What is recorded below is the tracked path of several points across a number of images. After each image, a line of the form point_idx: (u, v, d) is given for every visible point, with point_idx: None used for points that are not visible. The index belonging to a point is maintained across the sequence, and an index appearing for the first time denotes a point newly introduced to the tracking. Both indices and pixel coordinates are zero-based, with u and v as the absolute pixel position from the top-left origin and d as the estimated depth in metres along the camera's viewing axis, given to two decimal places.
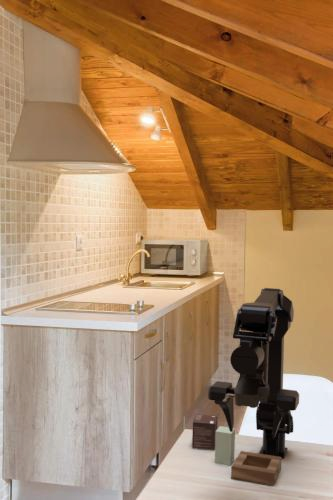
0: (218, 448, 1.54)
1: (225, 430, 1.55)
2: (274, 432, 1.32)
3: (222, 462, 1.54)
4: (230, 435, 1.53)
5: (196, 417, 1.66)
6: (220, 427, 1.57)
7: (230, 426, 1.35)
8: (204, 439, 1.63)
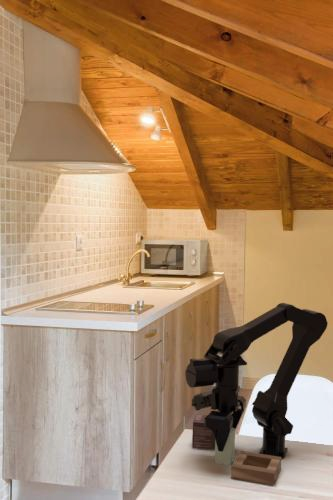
0: None
1: None
2: None
3: (222, 462, 1.54)
4: (230, 435, 1.53)
5: (196, 417, 1.66)
6: None
7: None
8: (204, 439, 1.63)
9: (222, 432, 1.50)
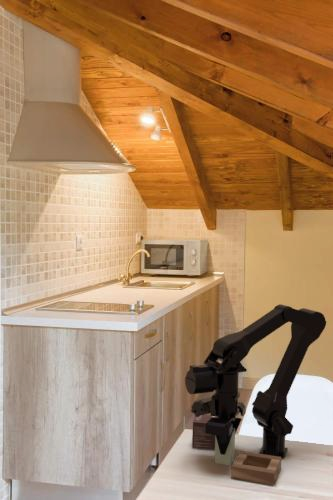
0: (218, 448, 1.54)
1: None
2: None
3: (222, 462, 1.54)
4: None
5: (196, 417, 1.66)
6: None
7: None
8: (204, 439, 1.63)
9: (224, 435, 1.52)
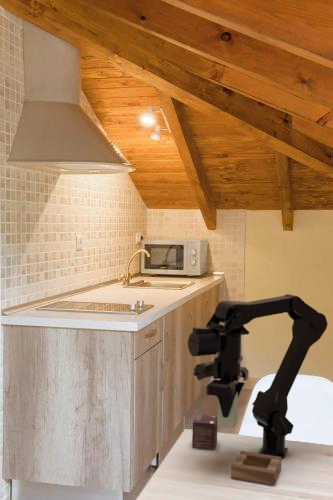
0: (221, 411, 1.53)
1: None
2: None
3: (225, 425, 1.53)
4: None
5: (196, 417, 1.66)
6: None
7: None
8: (204, 439, 1.63)
9: (227, 398, 1.51)
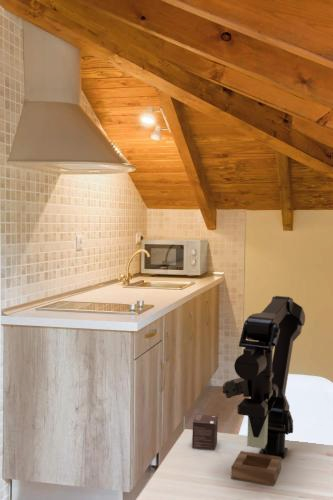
0: (251, 431, 1.46)
1: None
2: None
3: (255, 445, 1.46)
4: None
5: (196, 417, 1.66)
6: None
7: None
8: (204, 439, 1.63)
9: (258, 417, 1.44)
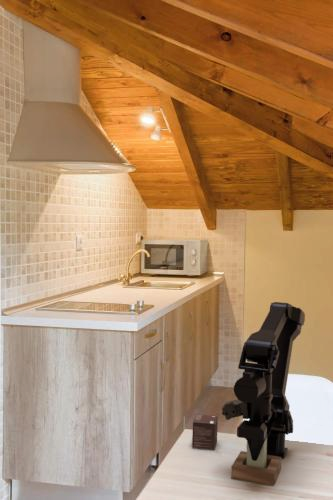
0: (250, 458, 1.47)
1: None
2: None
3: None
4: None
5: (196, 417, 1.66)
6: None
7: None
8: (204, 439, 1.63)
9: (256, 440, 1.44)
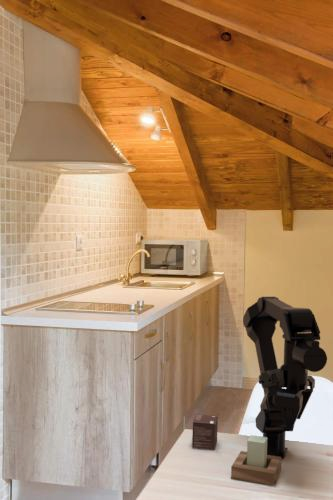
0: (250, 458, 1.47)
1: (257, 439, 1.48)
2: None
3: None
4: (263, 445, 1.46)
5: (196, 417, 1.66)
6: (252, 437, 1.49)
7: None
8: (204, 439, 1.63)
9: (291, 411, 1.44)
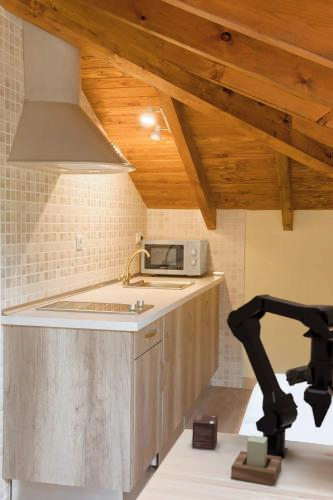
0: (250, 458, 1.47)
1: (257, 439, 1.48)
2: None
3: None
4: (263, 445, 1.46)
5: (196, 417, 1.66)
6: (252, 437, 1.49)
7: None
8: (204, 439, 1.63)
9: (321, 407, 1.45)
